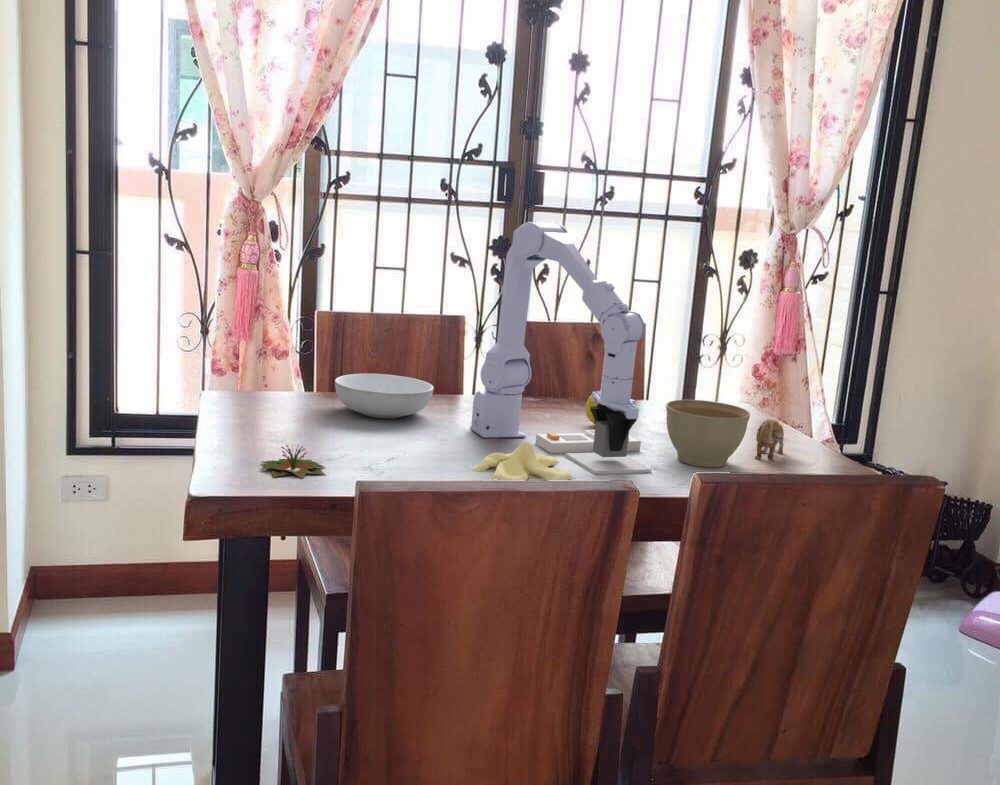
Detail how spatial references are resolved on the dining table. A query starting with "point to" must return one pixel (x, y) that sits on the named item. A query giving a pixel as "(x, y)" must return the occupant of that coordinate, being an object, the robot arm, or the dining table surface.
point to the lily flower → (293, 465)
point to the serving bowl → (383, 394)
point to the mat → (607, 463)
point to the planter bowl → (705, 430)
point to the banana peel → (522, 465)
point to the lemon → (588, 409)
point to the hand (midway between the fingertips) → (609, 447)
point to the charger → (606, 441)
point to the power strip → (575, 442)
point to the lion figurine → (769, 438)
